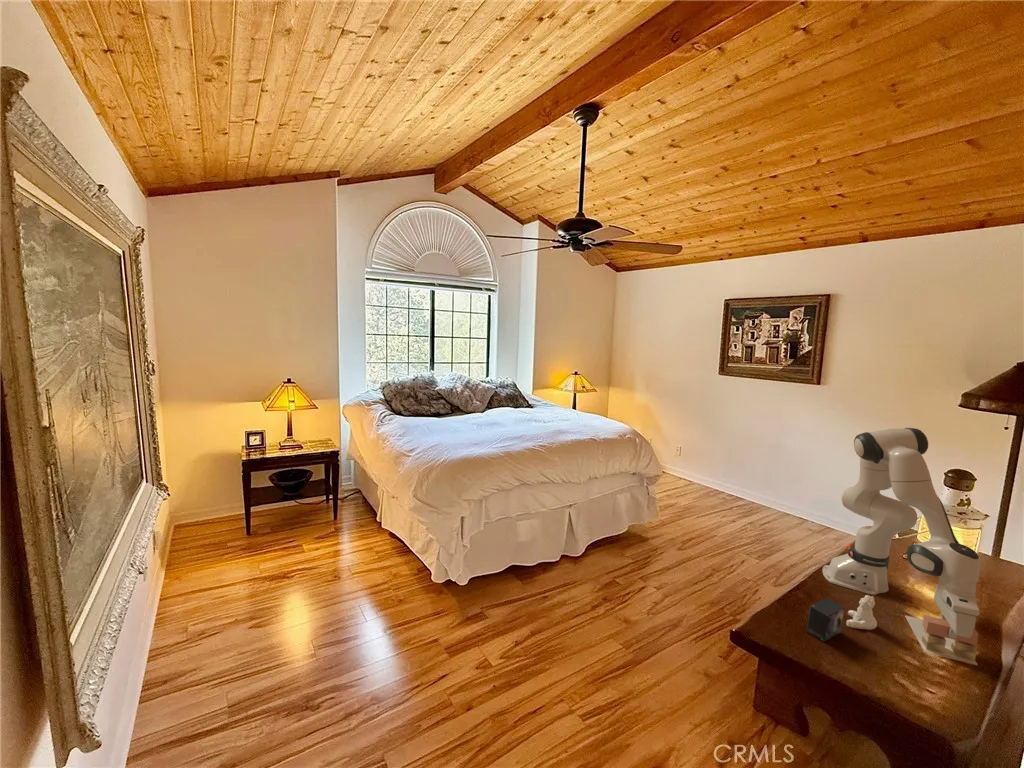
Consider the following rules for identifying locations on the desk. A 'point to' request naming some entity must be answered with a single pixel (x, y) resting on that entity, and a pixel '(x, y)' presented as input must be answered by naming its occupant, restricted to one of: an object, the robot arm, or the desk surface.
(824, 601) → the small box
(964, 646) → the pillar
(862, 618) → the seated beast figurine
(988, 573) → the desk surface
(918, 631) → the blueprint mat
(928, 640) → the pillar
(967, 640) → the lintel
